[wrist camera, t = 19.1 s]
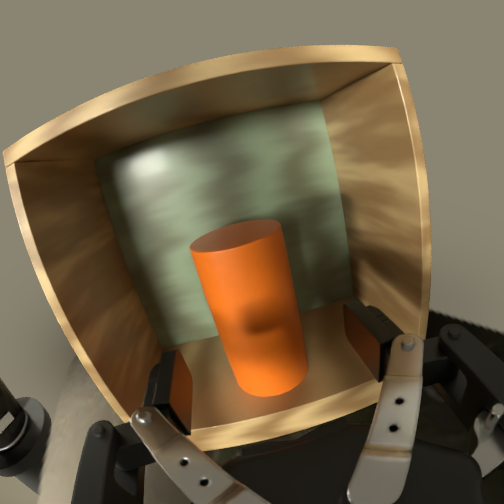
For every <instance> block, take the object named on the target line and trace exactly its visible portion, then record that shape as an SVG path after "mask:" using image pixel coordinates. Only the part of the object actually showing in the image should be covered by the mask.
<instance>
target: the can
mask: <svg viewBox="0 0 504 504" xmlns="http://www.w3.org/2000/svg"><path fill="white" fill-rule="evenodd" d="M190 252H191V255H192V258H193V261H194V264H195V267H196V270H197V274H198V277H199V280H200V283H201V286H202V288H203V291H204V294H205V297H206V300H207V303H208V306H209V309H210V312H211V314H212V317H213V320H214V323H215V325H216V328H217V331H218V334H219V336H220V339H221V342H222V344H223V347H224V350H225V352H226V355H227V358H228V360H229V363H230V365H231V368H232V370H233V373H234V375H235V378H236V380H237V383H238V385H239V386H240V388H242V389H243V390H244V391H245V392H247V393H249V394H252V395H255V396H261V397H269V396H276V395H280V394H283V393H285V392H288V391H290V390H291V389H293V388H295V387H296V386H297V385H298V384H299V383H300V382H301V381H302V380H303V379H304V377H305V376H306V373H307V370H308V361H307V355H306V349H305V344H304V338H303V332H302V327H301V322H300V316H299V311H298V306H297V300H296V295H295V290H294V285H293V280H292V275H291V270H290V265H289V260H288V255H287V251H286V246H285V241H284V237H283V232H282V227H281V224H280V222H278V221H276V220H269V219H261V220H251V221H245V222H240V223H236V224H232V225H228V226H225V227H222V228H219V229H216V230H214V231H211V232H209V233H207V234H205V235H203V236H201V237H199V238H198V239H196V240H195V241H194V242H192V244H191V245H190Z"/></svg>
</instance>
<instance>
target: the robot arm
mask: <svg viewBox="0 0 504 504" xmlns="http://www.w3.org/2000/svg"><path fill="white" fill-rule="evenodd" d="M343 317H344V328H345V334H346V337H347V339H348V341H349V343H350V344H351V345H352V347H353V348H354V350H355V351H356V352H357V354H358V355H359V356H360V358H361V359H362V361H363V362H364V363H365V365H366V366H367V368H368V369H369V370H370V372H371V373H372V375H373V376H374V377H375V379H376V380H377V382H378V383H380V382H382V381H383V383H382V387H381V391H380V395H379V399H378V403H377V407H376V410H375V414H374V417H373V421H372V424H365V423H354V424H347V422H346V420H345V418H343V419H340V420H337V421H335V422H332V423H329V424H326V425H323V426H320V427H318V428H316V429H315V430H313V431H311V432H309V433H307V434H306V435H304V436H302V437H300V438H298V439H296V440H293V441H281V442H264V443H260V444H255V445H250V446H246V447H240V448H239V451H240V455H239V456H236V457H234V458H232V459H231V460H229V461H228V462H226V463H225V464H224V465H222V466H221V467H220V466H219V465H217V464H216V463H215V462H214V461H213V460H211V459H210V458H209V457H208V456H207V455H206V454H205V453H204V452H202V451H201V450H200V449H199V448H198V447H197V446H196V445H195V444H194V443H193V442H192V441H191V440H190V439H188V438H187V437H186V436H190V435H191V421H192V397H193V379H192V375H191V373H190V370H189V368H188V366H187V364H186V362H185V360H184V358H183V356H182V354H181V352H180V350H179V349H176V350H171V351H166V352H163V354H162V358H161V363H157V364H155V366H154V367H153V368H152V370H151V371H150V375H149V380H148V383H147V387H146V391H145V395H144V400H143V404H142V407H140V408H138V409H137V410H135V411H134V412H133V414H132V415H131V417H130V421H129V422H127V423H124V424H121V425H118V426H115V427H114V426H113V425H112V423H111V422H109V421H105V420H102V421H98V422H96V423H94V424H93V425H92V426H91V427H90V428H89V430H88V432H87V436H86V439H85V443H84V447H83V451H82V455H81V459H80V463H79V467H78V471H77V476H76V481H75V485H74V490H73V496H72V501H71V504H143V498H144V475H145V465H148V464H151V463H154V462H157V463H158V464H159V465H160V466H161V468H162V469H163V470H164V471H165V472H166V474H167V475H168V476H169V477H170V478H171V479H172V480H173V482H174V483H175V484H176V485H177V486H178V487H179V488H180V489H181V490H182V491H183V493H184V494H185V495H186V496H187V497H188V498H189V499H190V500H191V501H192V503H191V504H485V501H484V497H483V490H482V481H483V480H484V479H486V478H487V477H488V476H490V475H491V474H492V473H493V472H495V471H496V470H497V469H499V470H500V469H504V363H503V362H502V361H501V360H500V359H499V358H498V357H497V356H496V355H495V354H494V353H493V352H492V351H491V350H490V349H488V348H487V347H486V346H485V345H484V344H483V343H482V342H481V341H480V340H479V339H477V338H476V337H475V336H474V335H473V334H472V333H471V332H470V331H468V330H467V329H466V328H465V327H464V326H462V325H459V324H448V325H445V326H444V327H442V328H441V330H440V333H439V337H434V338H430V339H425V340H422V338H421V337H420V336H418V335H416V334H412V333H406V334H405V333H404V332H403V331H402V330H401V329H400V328H399V327H398V326H397V325H396V324H395V323H394V322H393V321H392V320H391V319H389V318H388V317H387V316H386V315H385V314H384V313H383V312H382V311H381V310H380V309H379V308H376V307H374V306H371V305H369V306H365V305H364V304H363V303H362V302H361V301H360V300H359V299H356V300H353V301H350V302H347V303H344V304H343ZM432 384H433V385H434V386H435V388H436V389H437V390H438V392H439V393H440V394H441V396H442V397H443V398H444V400H445V401H446V402H447V404H448V405H449V406H450V408H451V409H452V410H453V412H454V413H455V414H456V416H457V417H458V419H459V420H460V421H461V423H462V424H463V426H464V427H465V428H466V430H467V431H468V433H467V435H466V440H465V441H466V446H467V448H468V452H469V454H468V453H466V452H463V451H459V450H455V449H451V448H447V447H443V446H439V445H436V444H432V443H429V442H425V441H422V440H418V439H415V433H416V428H417V422H418V415H419V408H420V401H421V392H422V387H424V386H428V385H432ZM28 427H29V415H28V413H27V412H26V411H25V410H24V408H23V407H21V405H20V404H19V403H18V402H17V400H16V399H15V398H14V396H13V395H12V394H11V392H10V391H9V390H8V388H7V387H6V385H5V384H4V383H3V381H2V380H1V378H0V453H5V452H8V451H10V450H12V449H13V448H15V447H16V446H17V445H18V444H19V443H20V442H21V441H22V439H23V438H24V436H25V434H26V432H27V430H28Z"/></svg>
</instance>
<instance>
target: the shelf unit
mask: <svg viewBox="0 0 504 504" xmlns="http://www.w3.org/2000/svg"><path fill="white" fill-rule="evenodd" d="M3 156H4V162H5V167H7V168H6V174H7V179H8V183H9V188H10V193H11V196H12V201H13V205H14V209H15V213H16V216H17V219H18V223H19V226H20V229H21V233H22V236H23V239H24V242H25V245H26V248H27V251H28V253H29V256H30V259H31V262H32V264H33V267H34V269H35V272H36V274H37V277H38V279H39V281H40V284H41V286H42V289H43V291H44V293H45V295H46V298H47V300H48V302H49V304H50V306H51V308H52V310H53V312H54V314H55V316H56V318H57V320H58V322H59V324H60V326H61V328H62V330H63V332H64V333H65V335H66V337H67V339H68V340H69V342H70V344H71V346H72V348H73V349H74V351H75V353H76V354H77V356H78V358H79V359H80V361H81V363H82V364H83V366H84V367H85V369H86V370H87V372H88V374H89V375H90V377H91V378H92V380H93V381H94V383H95V384H96V385H97V387H98V388H99V390H100V391H101V393H102V394H103V395H104V397H105V398H106V399H107V401H108V402H109V404H110V405H111V406H112V408H113V409H114V410H115V411H116V413H117V414H118V415H119V417H120V418H121V419H122V420H123V422H124V423H127V422H129V421H130V417H131V415H132V414H133V412H134V411H135V410H137V409H138V408H140V407H142V404H143V400H144V395H145V391H146V387H147V383H148V380H149V375H150V371H151V370H152V368H153V367H154V366H155V364H157V363H161V358H162V354H163V352H166V351H171V350H176V349H179V350H180V352H181V354H182V356H183V358H184V360H185V362H186V364H187V366H188V368H189V370H190V373H191V375H192V379H193V397H192V421H191V435H190V436H186V437H187V438H188V439H190V440H191V441H192V442H193V443H194V444H195V445H196V446H197V447H198V448H199V449H200V450H201V451H208V450H215V449H222V448H228V447H233V446H239V445H244V444H249V443H253V442H258V441H262V440H267V439H271V438H275V437H279V436H282V435H286V434H290V433H293V432H297V431H300V430H304V429H307V428H310V427H313V426H316V425H319V424H322V423H325V422H328V421H331V420H334V419H336V418H339V417H342V416H345V415H347V414H350V413H352V412H355V411H357V410H360V409H362V408H365V407H367V406H369V405H372V404H374V403H376V402H378V399H379V395H380V391H381V387H382V383H383V381H382V382H380V383H378V382H377V380H376V379H375V377H374V376H373V375H372V373H371V372H370V370H369V369H368V368H367V366H366V365H365V363H364V362H363V361H362V359H361V358H360V356H359V355H358V354H357V352H356V351H355V350H354V348H353V347H352V345H351V344H350V343H349V341H348V339H347V337H346V334H345V328H344V317H343V304H344V303H347V302H350V301H353V300H356V299H359V300H360V301H361V302H362V303H363V304H364V305H365V306H369V305H371V306H374V307H376V308H379V309H380V310H381V311H382V312H383V313H384V314H385V315H386V316H387V317H388V318H389V319H391V320H392V321H393V322H394V323H395V324H396V325H397V326H398V327H399V328H400V329H401V330H402V331H403V332H404V333H405V334H406V333H412V334H416V335H418V336H420V337H421V338H422V340H425V339H426V331H427V322H428V312H429V300H430V285H431V283H430V282H431V219H430V204H429V191H428V182H427V173H426V165H425V158H424V152H423V145H422V140H421V134H420V129H419V124H418V119H417V115H416V110H415V106H414V102H413V98H412V94H411V90H410V86H409V83H408V79H407V76H406V73H405V69H404V66H403V65H402V60H401V57H400V54H399V51H398V49H397V48H391V47H379V46H362V45H315V46H297V47H285V48H276V49H267V50H260V51H252V52H246V53H240V54H234V55H229V56H224V57H219V58H214V59H210V60H206V61H201V62H197V63H193V64H189V65H185V66H182V67H178V68H175V69H171V70H168V71H165V72H162V73H158V74H155V75H152V76H149V77H146V78H143V79H141V80H138V81H135V82H132V83H130V84H127V85H124V86H122V87H120V88H117V89H114V90H112V91H110V92H108V93H105V94H103V95H100V96H98V97H96V98H94V99H92V100H89V101H87V102H85V103H83V104H81V105H79V106H77V107H75V108H73V109H71V110H69V111H67V112H65V113H63V114H62V115H60V116H58V117H57V118H54V119H53V120H51V121H49V122H47V123H46V124H44V125H42V126H40V127H39V128H37V129H36V130H34V131H32V132H31V133H29V134H28V135H26V136H24V137H23V138H21V139H20V140H18V141H17V142H15V143H14V144H12V145H11V146H10V147H9V148H7V149H5V150H4V151H3ZM261 219H269V220H276V221H278V222H280V224H281V227H282V232H283V237H284V241H285V246H286V251H287V255H288V260H289V265H290V270H291V275H292V280H293V285H294V290H295V295H296V300H297V306H298V311H299V316H300V322H301V327H302V332H303V338H304V344H305V349H306V355H307V361H308V370H307V373H306V376H305V377H304V379H303V380H302V381H301V382H300V383H299V384H298V385H297V386H296V387H295V388H293V389H291V390H290V391H288V392H285V393H283V394H280V395H276V396H269V397H261V396H255V395H252V394H249V393H247V392H245V391H244V390H243V389H242V388H240V386H239V385H238V383H237V380H236V378H235V375H234V373H233V370H232V368H231V365H230V363H229V360H228V358H227V355H226V352H225V350H224V347H223V344H222V342H221V339H220V336H219V334H218V331H217V328H216V325H215V323H214V320H213V317H212V314H211V312H210V309H209V306H208V303H207V300H206V297H205V294H204V291H203V288H202V286H201V283H200V280H199V277H198V274H197V270H196V267H195V264H194V261H193V258H192V255H191V252H190V245H191V244H192V242H194V241H195V240H196V239H198V238H199V237H201V236H203V235H205V234H207V233H209V232H211V231H214V230H216V229H219V228H222V227H225V226H228V225H232V224H236V223H240V222H245V221H251V220H261Z"/></svg>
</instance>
